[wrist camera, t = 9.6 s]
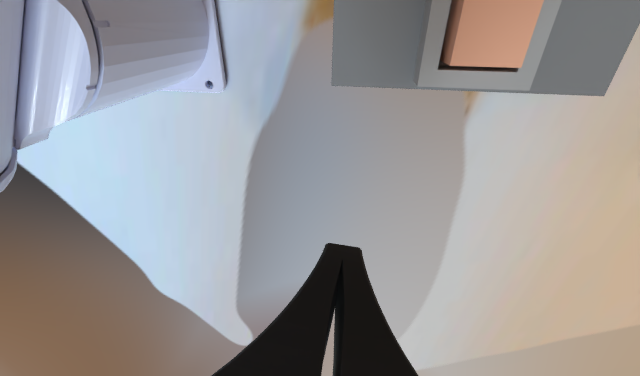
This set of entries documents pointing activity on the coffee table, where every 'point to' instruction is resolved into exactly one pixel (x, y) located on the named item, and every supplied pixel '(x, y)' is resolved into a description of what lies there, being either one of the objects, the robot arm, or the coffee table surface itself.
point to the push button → (489, 32)
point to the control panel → (430, 73)
